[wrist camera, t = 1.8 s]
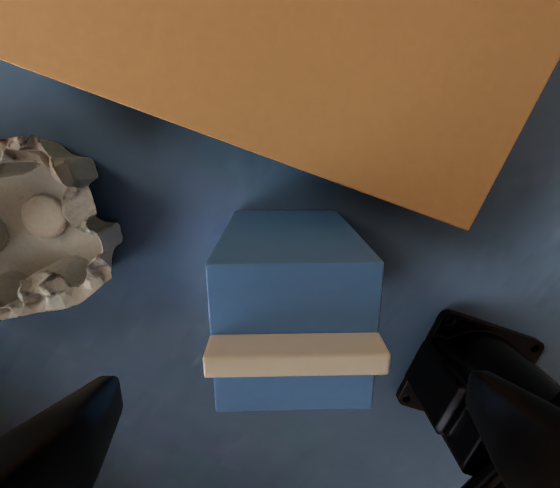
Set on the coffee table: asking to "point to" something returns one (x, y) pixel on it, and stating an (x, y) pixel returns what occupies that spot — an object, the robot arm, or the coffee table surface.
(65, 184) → the egg carton
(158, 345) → the coffee table surface
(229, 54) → the board
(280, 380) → the carton
